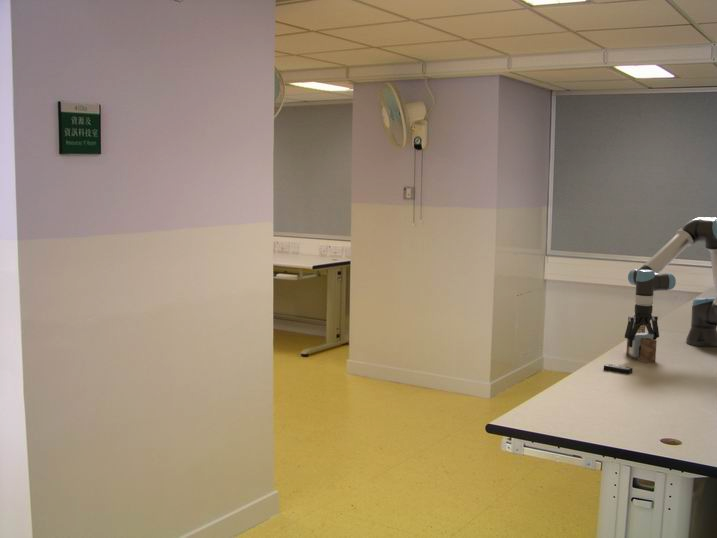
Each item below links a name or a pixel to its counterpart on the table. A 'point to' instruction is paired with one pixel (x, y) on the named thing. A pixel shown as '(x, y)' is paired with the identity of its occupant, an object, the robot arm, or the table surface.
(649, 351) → the walnut notched block
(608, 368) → the multiport hub
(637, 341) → the grey slotted block
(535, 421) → the table surface
